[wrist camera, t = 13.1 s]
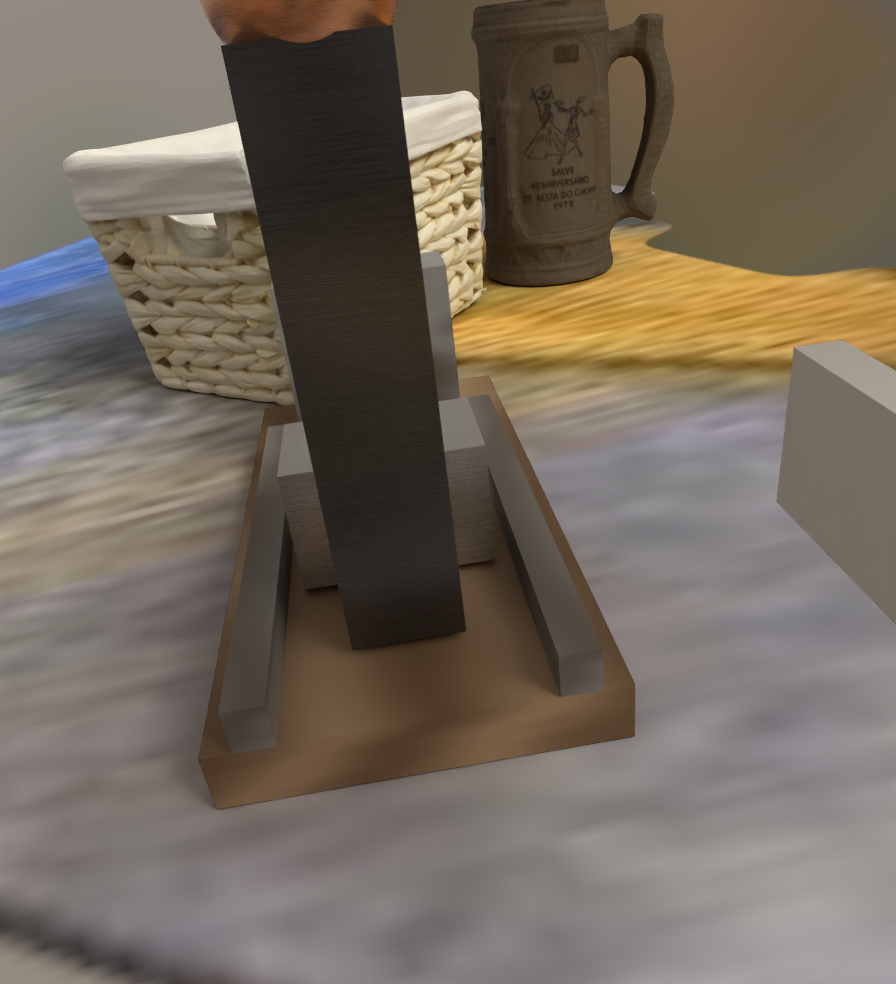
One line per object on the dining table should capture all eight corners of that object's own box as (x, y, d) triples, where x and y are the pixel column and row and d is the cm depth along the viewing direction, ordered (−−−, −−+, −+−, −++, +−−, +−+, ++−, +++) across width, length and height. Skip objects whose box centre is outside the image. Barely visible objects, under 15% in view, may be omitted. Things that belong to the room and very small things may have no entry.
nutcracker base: (491, 409, 44) (476, 242, 39) (634, 736, 23) (638, 461, 18) (273, 442, 43) (233, 276, 39) (216, 809, 22) (116, 542, 18)
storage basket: (316, 427, 45) (257, 142, 37) (122, 395, 52) (42, 154, 45) (505, 298, 62) (490, 87, 55) (338, 289, 70) (306, 103, 62)
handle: (477, 501, 31) (413, -122, 21) (519, 632, 24) (453, -205, 14) (308, 528, 30) (164, -94, 21) (300, 668, 24) (80, -166, 14)
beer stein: (495, 296, 62) (492, -6, 52) (464, 265, 71) (457, 3, 62) (678, 278, 65) (708, -13, 55) (626, 250, 74) (643, -3, 64)
